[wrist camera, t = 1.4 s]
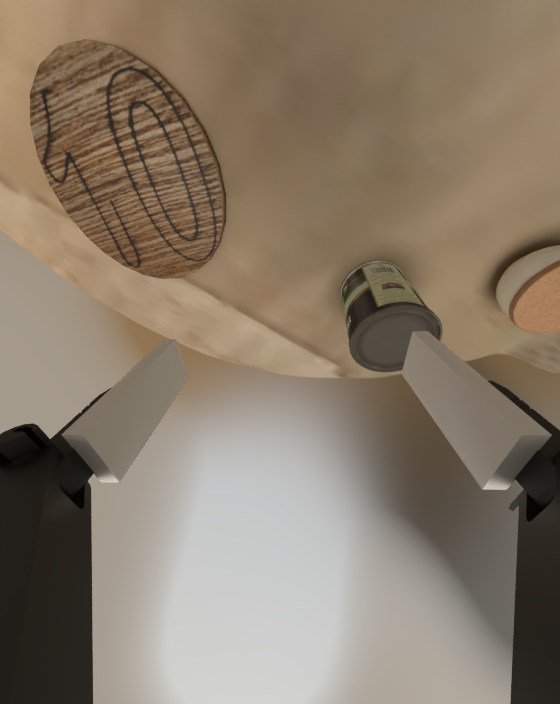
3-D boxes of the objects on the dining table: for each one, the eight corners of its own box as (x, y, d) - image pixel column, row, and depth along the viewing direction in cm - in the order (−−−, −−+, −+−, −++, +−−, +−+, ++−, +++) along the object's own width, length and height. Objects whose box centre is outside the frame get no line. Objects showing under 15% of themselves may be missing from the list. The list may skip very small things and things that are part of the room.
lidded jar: (465, 284, 35) (502, 316, 28) (549, 216, 28) (625, 236, 21) (507, 316, 38) (551, 353, 31) (593, 261, 31) (674, 292, 24)
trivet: (128, 284, 43) (121, 289, 42) (-4, 94, 27) (-21, 90, 26) (249, 260, 37) (246, 264, 36) (169, -1, 21) (159, -12, 20)
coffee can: (351, 325, 42) (363, 380, 32) (331, 278, 37) (337, 326, 26) (411, 303, 38) (447, 359, 28) (398, 247, 33) (437, 290, 22)
